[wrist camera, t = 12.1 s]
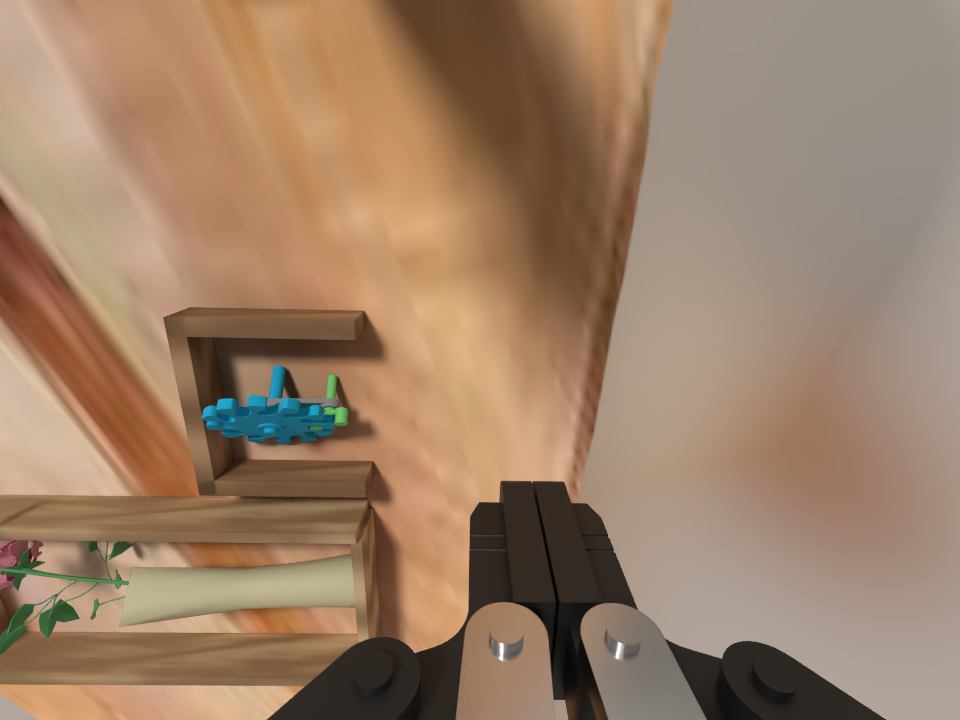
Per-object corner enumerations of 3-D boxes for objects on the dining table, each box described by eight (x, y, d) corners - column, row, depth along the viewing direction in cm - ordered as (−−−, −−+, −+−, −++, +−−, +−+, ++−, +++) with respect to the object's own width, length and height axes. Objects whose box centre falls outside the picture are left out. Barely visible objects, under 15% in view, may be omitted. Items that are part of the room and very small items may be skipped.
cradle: (189, 307, 39) (163, 317, 35) (364, 310, 39) (353, 321, 36) (220, 473, 44) (199, 495, 41) (373, 475, 44) (365, 497, 41)
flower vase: (359, 535, 56) (-2, 553, 46) (364, 469, 49) (-61, 475, 39) (356, 641, 47) (-92, 691, 37) (363, 579, 39) (-190, 621, 30)
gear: (224, 451, 41) (177, 414, 33) (235, 389, 44) (194, 340, 35) (352, 448, 43) (340, 413, 34) (356, 389, 46) (345, 342, 37)
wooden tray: (-53, 494, 44) (-115, 529, 40) (372, 499, 45) (361, 534, 40) (7, 638, 50) (-41, 684, 46) (381, 641, 51) (372, 686, 47)
